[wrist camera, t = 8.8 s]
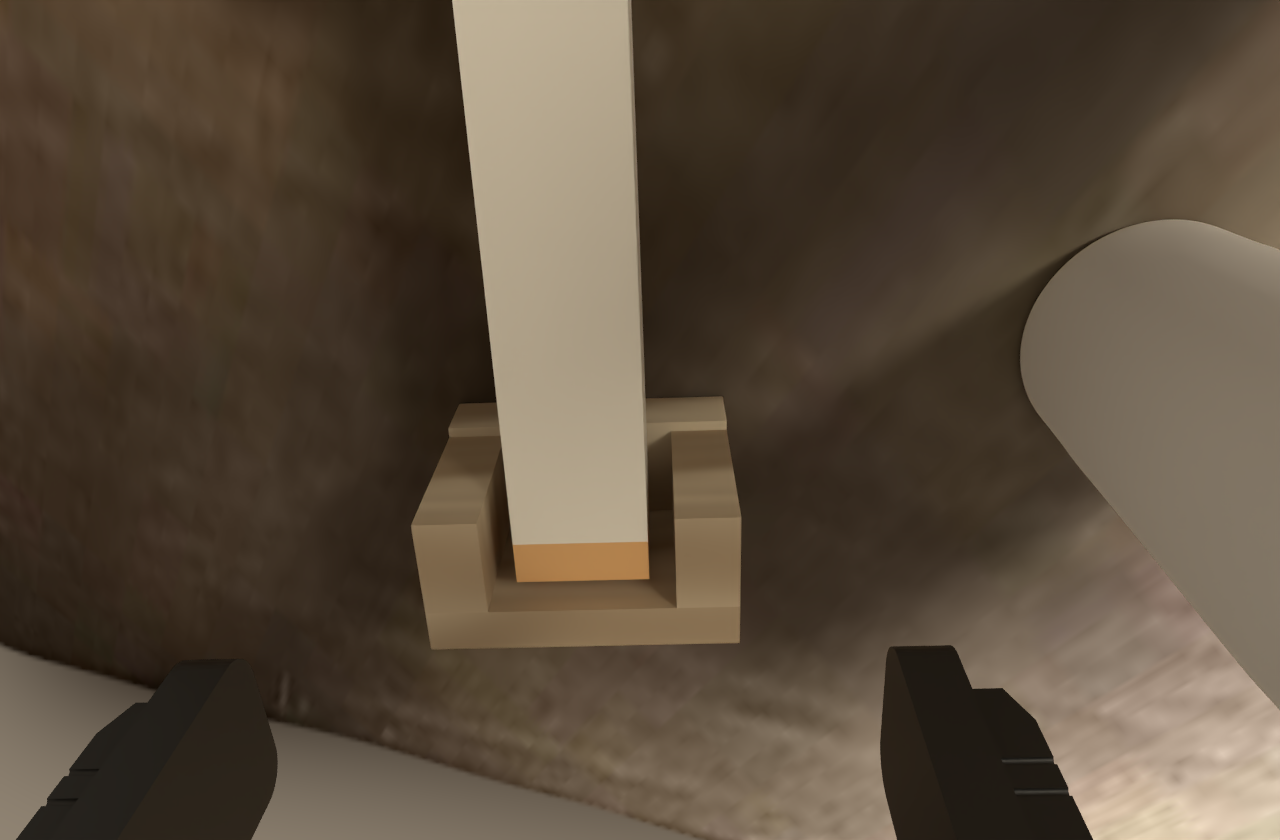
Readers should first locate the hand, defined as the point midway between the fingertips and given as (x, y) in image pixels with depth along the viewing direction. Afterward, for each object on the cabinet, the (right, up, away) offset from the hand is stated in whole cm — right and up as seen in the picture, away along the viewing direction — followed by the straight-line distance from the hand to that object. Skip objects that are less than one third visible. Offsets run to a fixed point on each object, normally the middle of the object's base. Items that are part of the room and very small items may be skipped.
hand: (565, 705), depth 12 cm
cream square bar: (-1, +9, +8) cm, 12 cm away
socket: (0, +3, +14) cm, 14 cm away
